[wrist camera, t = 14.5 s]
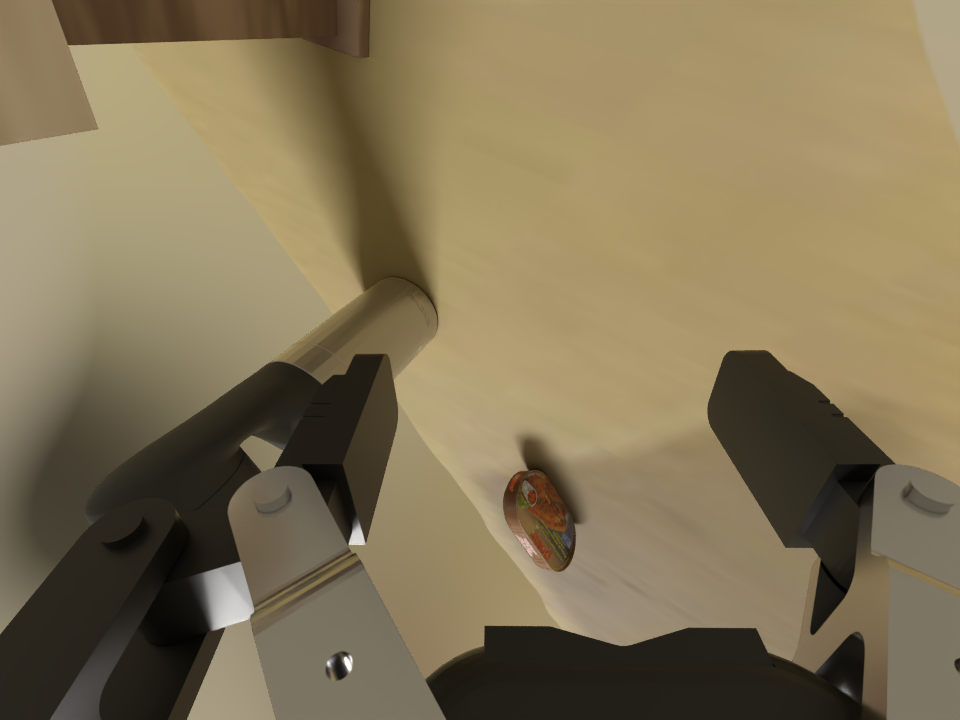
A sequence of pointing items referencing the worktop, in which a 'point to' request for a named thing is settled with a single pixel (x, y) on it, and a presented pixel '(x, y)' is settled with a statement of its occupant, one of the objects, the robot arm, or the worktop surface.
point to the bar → (38, 76)
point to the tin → (540, 520)
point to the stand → (217, 21)
